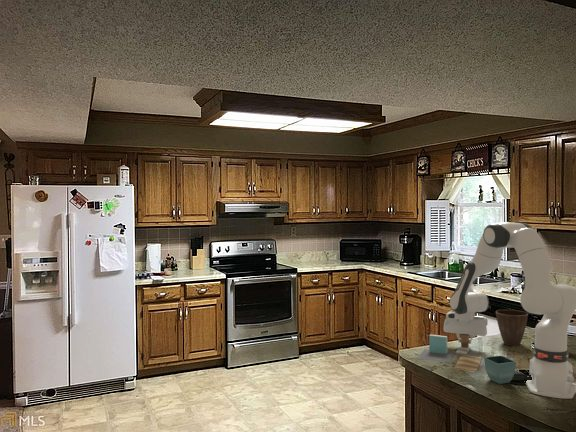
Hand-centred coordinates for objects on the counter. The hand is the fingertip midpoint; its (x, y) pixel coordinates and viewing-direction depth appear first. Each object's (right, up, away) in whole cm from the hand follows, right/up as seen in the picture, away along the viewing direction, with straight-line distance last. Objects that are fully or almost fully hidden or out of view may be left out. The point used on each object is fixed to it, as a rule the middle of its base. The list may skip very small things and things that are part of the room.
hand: (464, 342), depth 244 cm
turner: (-3, -3, -5) cm, 6 cm away
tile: (-16, -2, -9) cm, 18 cm away
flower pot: (-3, -4, -47) cm, 47 cm away
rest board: (-7, -3, -24) cm, 26 cm away
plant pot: (+26, -3, +8) cm, 28 cm away
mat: (-18, -3, -13) cm, 23 cm away
